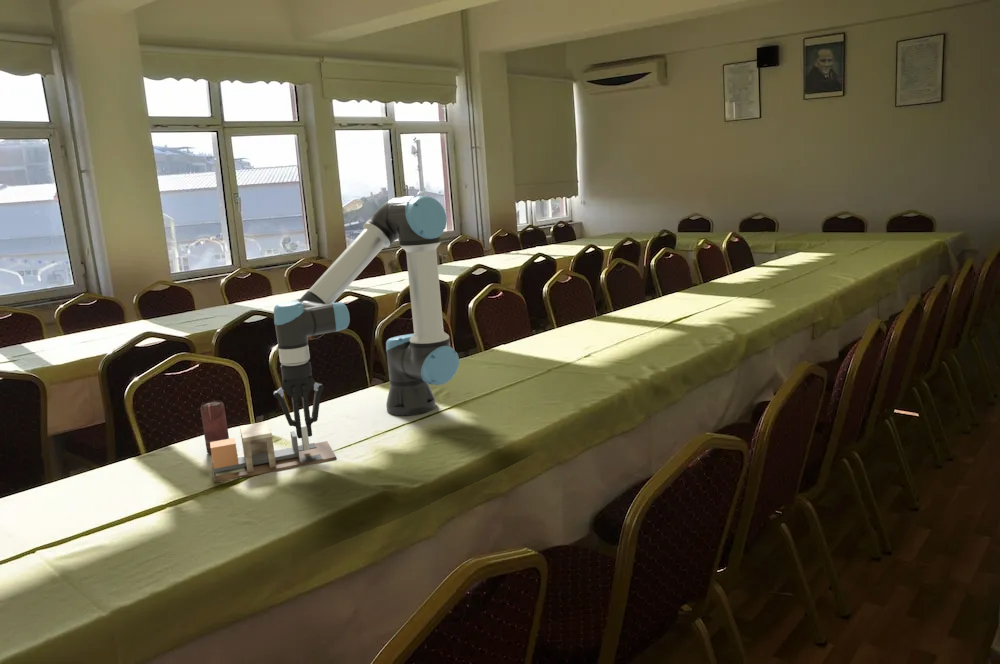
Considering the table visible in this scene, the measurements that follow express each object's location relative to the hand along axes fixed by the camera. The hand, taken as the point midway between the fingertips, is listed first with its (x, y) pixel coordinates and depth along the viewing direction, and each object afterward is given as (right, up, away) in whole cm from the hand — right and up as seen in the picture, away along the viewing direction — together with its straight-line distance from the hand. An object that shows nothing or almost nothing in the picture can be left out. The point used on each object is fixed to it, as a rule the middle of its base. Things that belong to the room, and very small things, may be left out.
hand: (306, 448), depth 206 cm
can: (-26, -2, +8) cm, 27 cm away
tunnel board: (-8, -3, -3) cm, 9 cm away
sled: (-12, -3, -4) cm, 13 cm away
